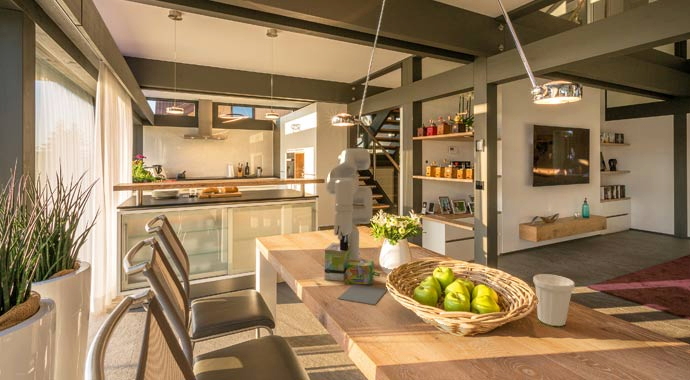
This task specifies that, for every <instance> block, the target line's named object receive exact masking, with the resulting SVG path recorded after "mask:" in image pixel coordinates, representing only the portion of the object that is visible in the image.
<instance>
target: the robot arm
mask: <svg viewBox="0 0 690 380" xmlns="http://www.w3.org/2000/svg"><path fill="white" fill-rule="evenodd" d="M337 163H338V165H336V166H335V167H333V168H332V169H331V170H330V171H329V172H328V174H327V179H326V184H325V188H326V192H327V193H328V194H329V195H334V196H335V197H334V200H335V205H334V208H335V210H334V212H335V215H334V223H333V226H334V227H333V235H334V236H337V239H338V240H339V243H340V250H341V251H347V250H348V244H350V260H362V259H360V254H361V253H360V231H359V228H358V227H357V226H356V224H359V225H360V224H362V225H364V224H366V225H367V224H370V223H371V222H370V219H372V220H373V191H372V189H371V187H369V186H363V185H362V186H361V185H359V184H360V183H359V182H360V179H359V175H358V174H357V171H358V170H359V171H361V170H364V171H365V170H366V171H367V170H368V169H369V168H370V167H371V154H370V152H369V150H368V149H366V148H346V149H343V150H342V152H341V154H340V155H339V156H337ZM354 204H355V205H354ZM356 204H359V205H356ZM360 204H362V205H360Z"/></svg>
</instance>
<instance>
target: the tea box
mask: <svg viewBox="0 0 690 380" xmlns="http://www.w3.org/2000/svg"><path fill="white" fill-rule="evenodd" d="M349 261H350V244H348V250H347V251H341V250H340V242H331V243H330V245H328V246H327V247H326V248H325V249H324V274H323V276H324V280H327V281H328V280H329V281H342V282H343V281H345V279H346V278H347V265H348V263H349Z"/></svg>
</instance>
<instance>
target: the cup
mask: <svg viewBox="0 0 690 380" xmlns="http://www.w3.org/2000/svg"><path fill="white" fill-rule="evenodd" d="M532 279H533V280H532V281H533V284H534V286H535V297H536V296H537V298H538V301H539V302H538V304H537V303H536V312H537V320H538V319H539V320H540V321H541V322H543V323H545V324H548V325H552V326H563V325H566V322H567V318H568V317H567V316H568V311H569V307H570V301H571V297H572V293H573V292H572V291H573V290H574V289H575V284H576V283H575V282H574V281H573V279H570V278H567V277H564V276H561V275H556V274H550V273H549V274H547V273H539V274H535V275H534V276H533V277H532ZM539 320H538V321H539ZM540 321H539V322H540ZM541 322H540V323H541ZM543 323H542V324H543ZM545 324H544V325H545ZM548 325H547V326H548ZM552 326H551V327H552ZM563 327H564V326H563Z"/></svg>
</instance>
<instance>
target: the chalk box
mask: <svg viewBox="0 0 690 380" xmlns="http://www.w3.org/2000/svg"><path fill="white" fill-rule="evenodd" d="M374 267H375V266H374V260H362V259H361V260H350V261H349V263H348V265H347V276H346V278H347V279H346V280H347V281H346V282H347V285H349V284H351V285H353V284H358V285H365V286H370V285H373V283H374V276H376V277H379V278H380V276H381V273H379V272H376V271H374Z"/></svg>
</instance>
